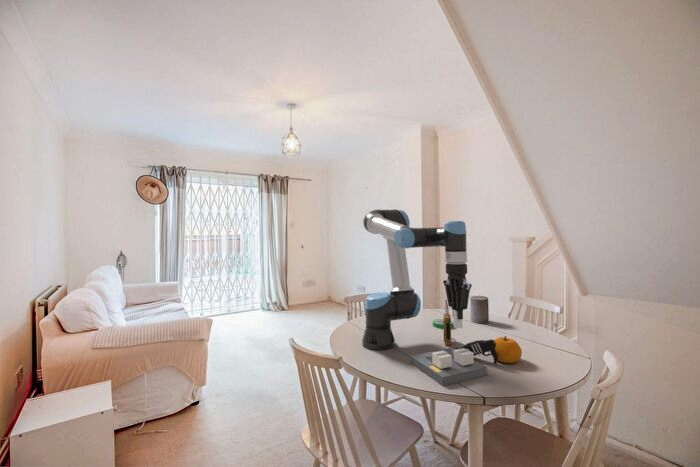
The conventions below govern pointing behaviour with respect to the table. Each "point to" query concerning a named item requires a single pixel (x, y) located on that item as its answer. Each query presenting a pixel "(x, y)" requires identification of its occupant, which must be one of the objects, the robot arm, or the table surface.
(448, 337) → the brown upright pointed stick
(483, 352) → the gun
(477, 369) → the switch panel
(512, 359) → the fruit
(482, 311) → the pillar candle
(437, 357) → the tab
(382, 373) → the table surface
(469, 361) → the tab
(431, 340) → the table surface
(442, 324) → the tape roll
